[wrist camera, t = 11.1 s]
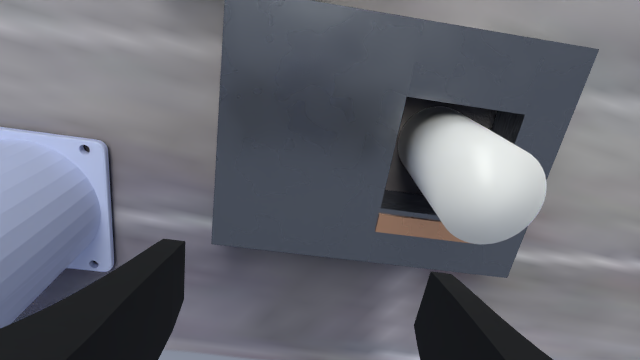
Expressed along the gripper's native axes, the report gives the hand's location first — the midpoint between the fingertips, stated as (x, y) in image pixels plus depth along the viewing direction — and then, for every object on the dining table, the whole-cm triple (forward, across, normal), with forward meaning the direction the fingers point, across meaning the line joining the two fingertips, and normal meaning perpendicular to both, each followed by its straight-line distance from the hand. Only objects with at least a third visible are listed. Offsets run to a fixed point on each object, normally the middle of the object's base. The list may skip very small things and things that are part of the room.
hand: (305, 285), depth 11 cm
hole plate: (+10, -4, -2) cm, 11 cm away
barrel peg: (+10, -6, -2) cm, 13 cm away
